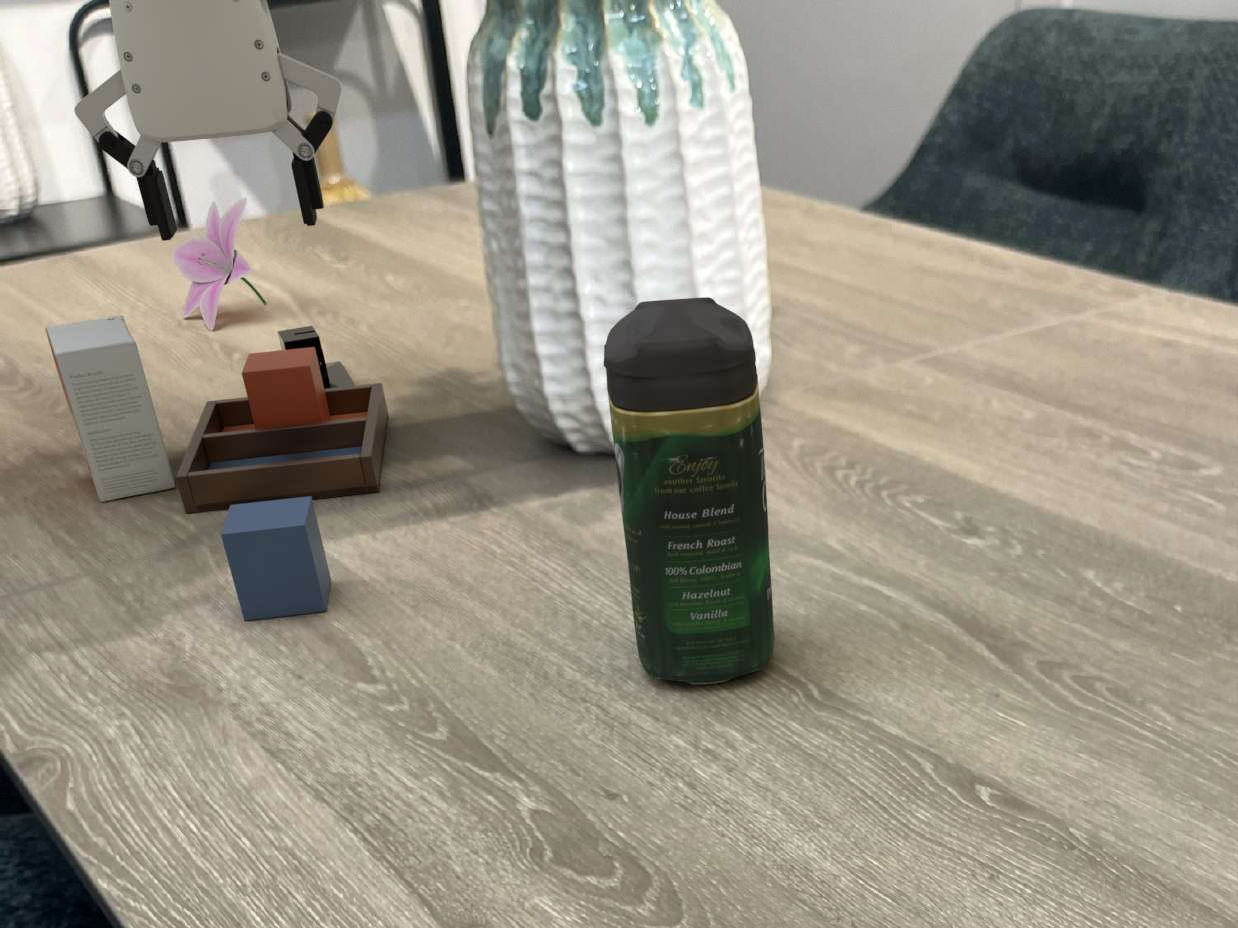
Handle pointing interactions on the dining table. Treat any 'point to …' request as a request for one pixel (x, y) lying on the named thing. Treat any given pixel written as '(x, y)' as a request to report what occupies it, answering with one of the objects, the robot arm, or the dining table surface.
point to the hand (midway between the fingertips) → (240, 228)
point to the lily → (212, 262)
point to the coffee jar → (692, 488)
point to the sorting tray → (285, 453)
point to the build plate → (308, 337)
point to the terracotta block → (285, 388)
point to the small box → (111, 407)
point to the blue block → (276, 558)
